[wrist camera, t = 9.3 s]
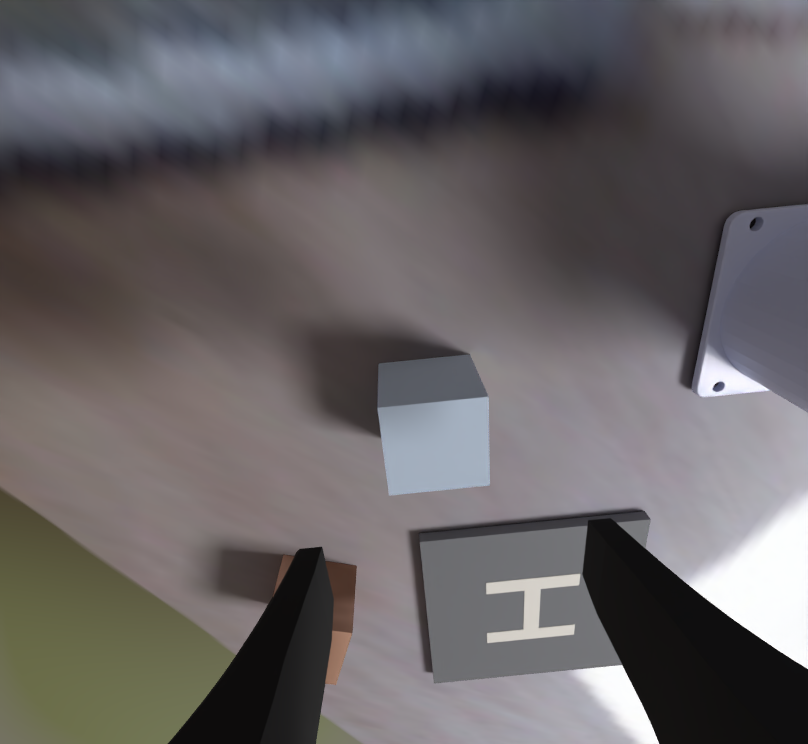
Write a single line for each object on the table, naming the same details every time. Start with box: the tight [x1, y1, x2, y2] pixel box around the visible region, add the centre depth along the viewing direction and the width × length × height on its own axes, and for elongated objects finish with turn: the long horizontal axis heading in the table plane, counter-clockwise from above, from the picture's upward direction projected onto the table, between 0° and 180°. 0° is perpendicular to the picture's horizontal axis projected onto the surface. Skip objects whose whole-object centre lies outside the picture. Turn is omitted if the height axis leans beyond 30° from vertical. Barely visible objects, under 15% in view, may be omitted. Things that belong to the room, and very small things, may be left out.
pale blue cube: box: [377, 354, 490, 495], centre depth 19 cm, size 4×4×4 cm
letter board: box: [419, 511, 651, 683], centre depth 26 cm, size 12×12×1 cm
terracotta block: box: [273, 555, 357, 685], centre depth 24 cm, size 4×4×4 cm
